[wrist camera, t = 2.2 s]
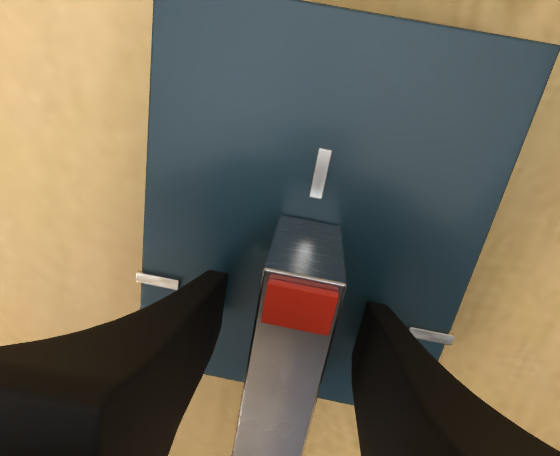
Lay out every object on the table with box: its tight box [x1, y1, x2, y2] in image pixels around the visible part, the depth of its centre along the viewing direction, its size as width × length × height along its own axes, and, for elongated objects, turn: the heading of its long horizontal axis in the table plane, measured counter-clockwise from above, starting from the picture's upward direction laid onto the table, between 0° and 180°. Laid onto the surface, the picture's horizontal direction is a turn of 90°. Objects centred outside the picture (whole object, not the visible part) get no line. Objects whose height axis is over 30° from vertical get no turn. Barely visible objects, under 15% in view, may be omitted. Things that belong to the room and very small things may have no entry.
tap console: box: [136, 0, 560, 405], centre depth 13 cm, size 14×10×3 cm
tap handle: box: [232, 215, 347, 456], centre depth 11 cm, size 6×2×4 cm, turn 171°
